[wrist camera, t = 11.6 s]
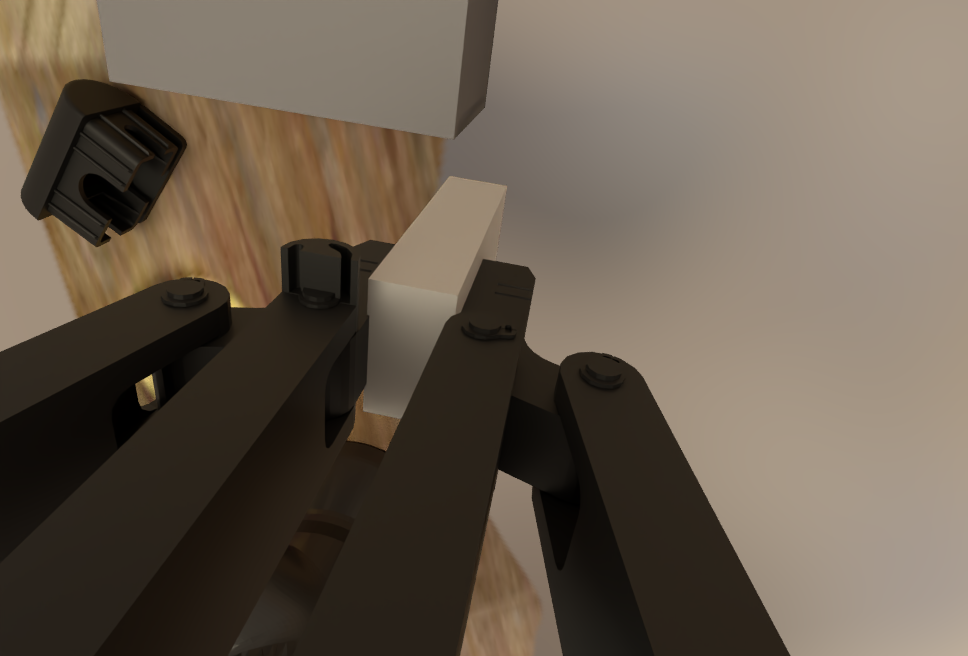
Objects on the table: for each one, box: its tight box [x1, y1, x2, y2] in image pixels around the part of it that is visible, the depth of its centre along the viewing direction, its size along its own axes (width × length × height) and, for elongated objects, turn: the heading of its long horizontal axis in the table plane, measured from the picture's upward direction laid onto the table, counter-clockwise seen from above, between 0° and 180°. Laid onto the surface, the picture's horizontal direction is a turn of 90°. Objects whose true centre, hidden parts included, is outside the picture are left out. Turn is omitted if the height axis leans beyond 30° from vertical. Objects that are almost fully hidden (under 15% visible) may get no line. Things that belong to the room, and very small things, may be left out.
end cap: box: [21, 79, 187, 247], centre depth 46 cm, size 10×7×7 cm
